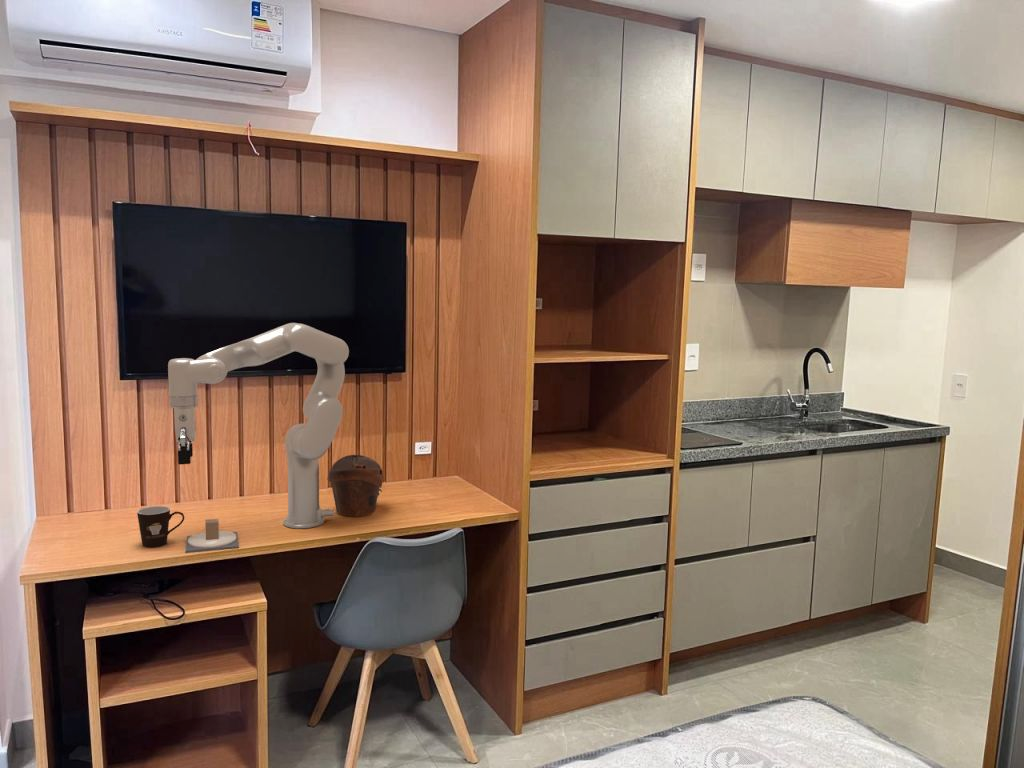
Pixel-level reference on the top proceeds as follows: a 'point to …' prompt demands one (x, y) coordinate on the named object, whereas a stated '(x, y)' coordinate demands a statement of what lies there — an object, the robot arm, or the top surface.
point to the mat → (230, 546)
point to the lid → (212, 536)
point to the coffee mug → (155, 525)
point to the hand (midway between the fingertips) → (185, 460)
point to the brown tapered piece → (355, 485)
